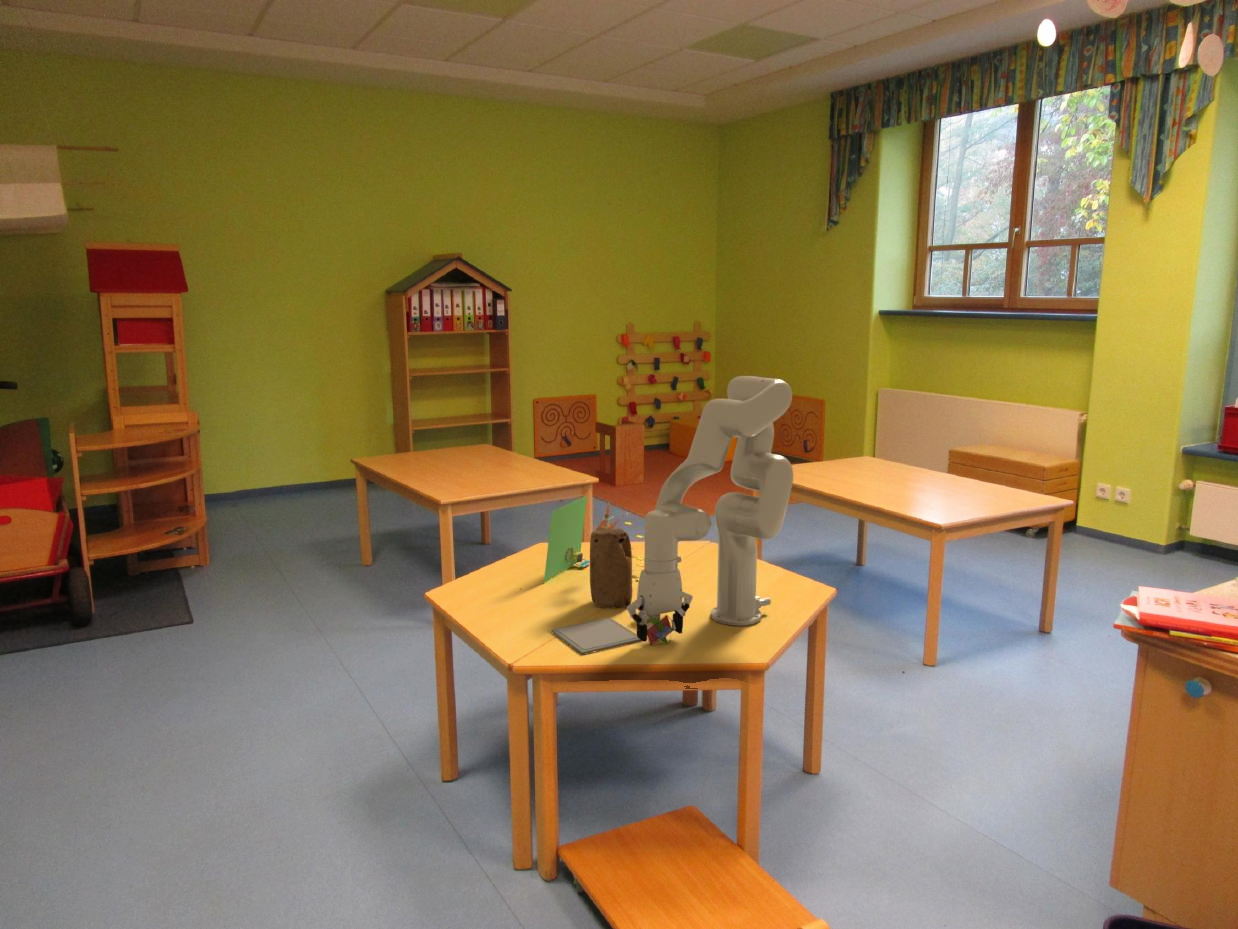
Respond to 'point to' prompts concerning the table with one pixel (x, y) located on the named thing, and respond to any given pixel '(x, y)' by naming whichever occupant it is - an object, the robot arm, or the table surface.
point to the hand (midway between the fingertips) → (659, 635)
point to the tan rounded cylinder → (653, 617)
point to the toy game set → (570, 537)
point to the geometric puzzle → (659, 629)
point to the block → (610, 568)
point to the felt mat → (596, 635)
